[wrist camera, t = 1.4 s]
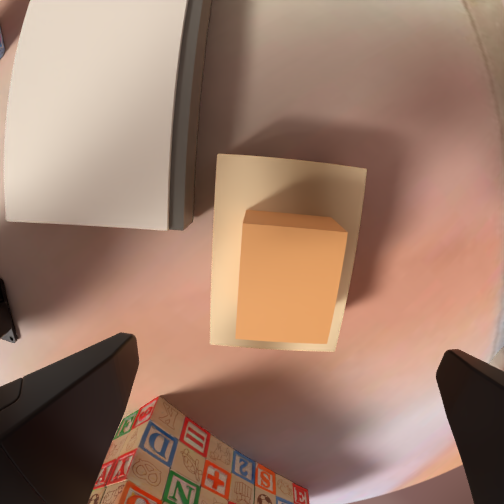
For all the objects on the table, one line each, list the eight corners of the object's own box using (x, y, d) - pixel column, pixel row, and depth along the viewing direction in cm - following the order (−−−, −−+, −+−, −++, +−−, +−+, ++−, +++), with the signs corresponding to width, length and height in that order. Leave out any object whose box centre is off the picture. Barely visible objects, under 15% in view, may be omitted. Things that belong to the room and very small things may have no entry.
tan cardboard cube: (239, 307, 16) (235, 338, 13) (246, 209, 14) (242, 223, 12) (316, 312, 16) (326, 344, 13) (331, 217, 14) (347, 232, 12)
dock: (31, 212, 19) (6, 221, 16) (52, 10, 14) (30, -1, 11) (194, 220, 19) (182, 231, 16) (215, -20, 14) (209, -43, 11)
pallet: (218, 310, 20) (209, 344, 17) (226, 154, 18) (217, 153, 14) (322, 318, 20) (334, 351, 17) (345, 166, 17) (366, 168, 14)
